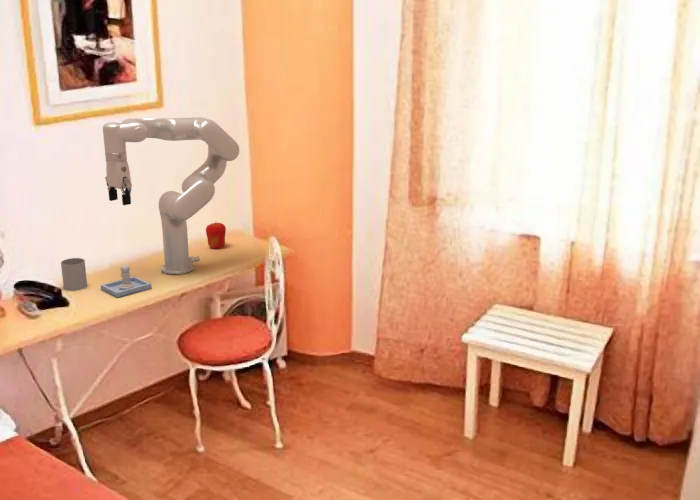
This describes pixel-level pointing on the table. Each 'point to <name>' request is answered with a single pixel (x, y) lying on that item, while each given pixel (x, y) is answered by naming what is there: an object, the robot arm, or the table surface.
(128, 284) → the chess piece
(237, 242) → the table surface
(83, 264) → the cup
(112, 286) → the tray
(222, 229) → the apple
